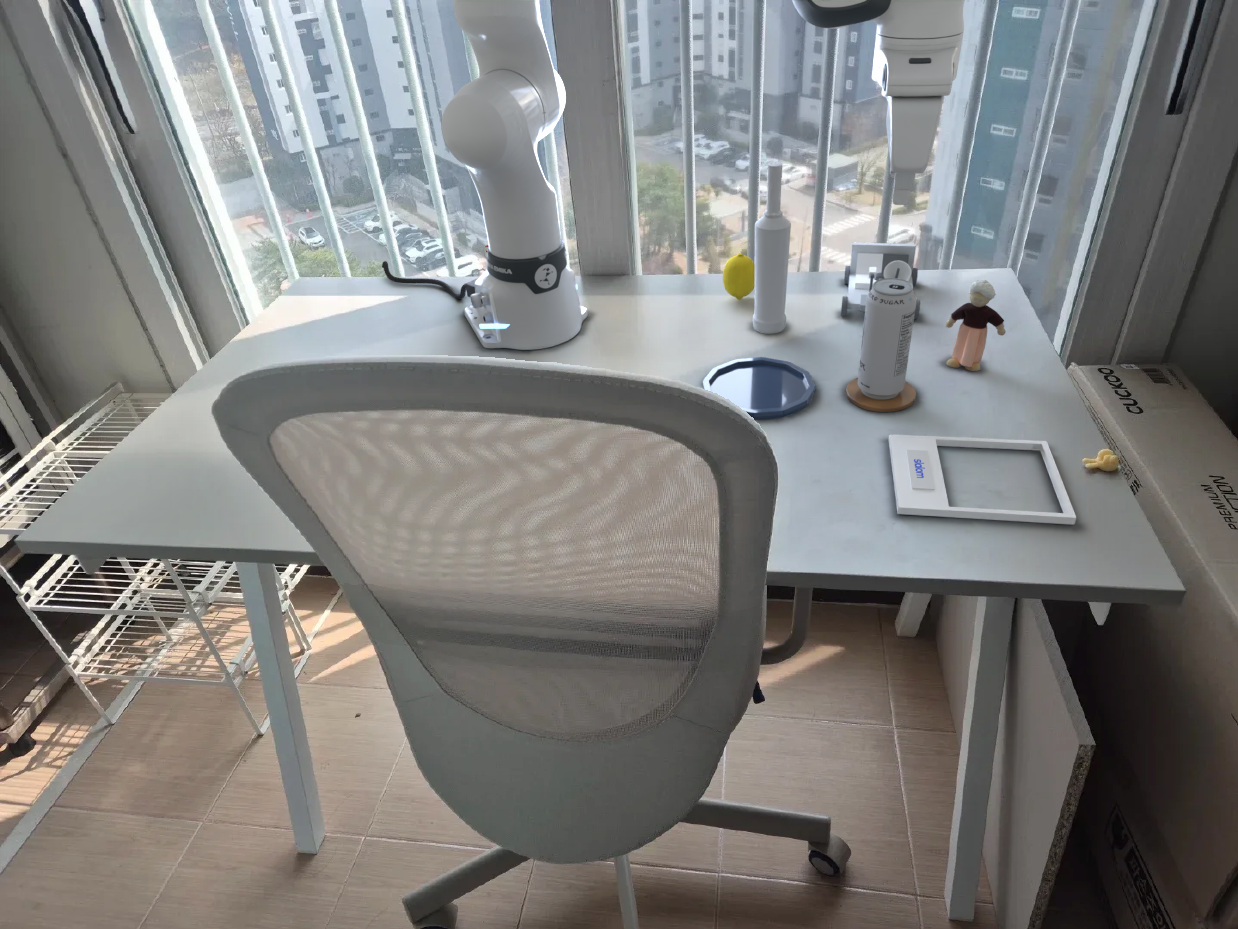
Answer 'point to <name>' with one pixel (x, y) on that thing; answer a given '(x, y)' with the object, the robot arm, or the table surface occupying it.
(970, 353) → the grandmother figurine
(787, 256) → the bottle
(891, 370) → the energy drink can
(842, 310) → the toy car
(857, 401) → the coaster
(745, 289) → the lemon
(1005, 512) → the photo frame
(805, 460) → the table surface
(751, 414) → the plate
